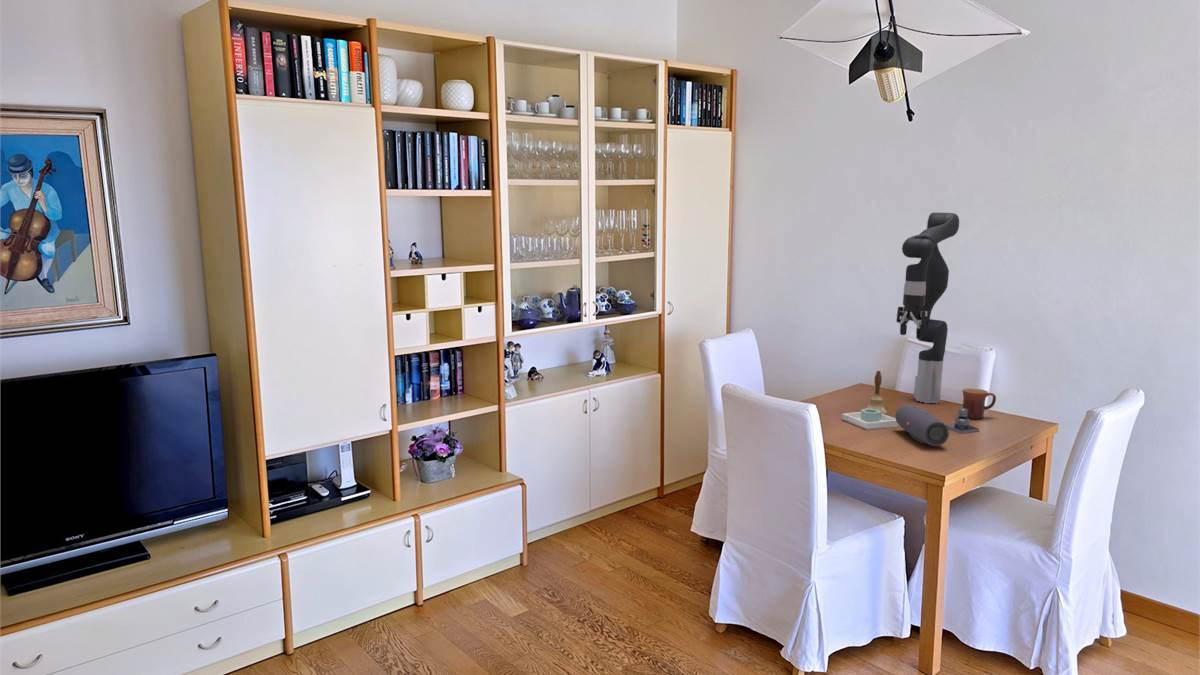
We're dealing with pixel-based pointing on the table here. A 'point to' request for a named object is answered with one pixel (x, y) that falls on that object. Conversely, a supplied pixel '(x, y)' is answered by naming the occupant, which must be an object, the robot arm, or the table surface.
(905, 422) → the bluetooth speaker
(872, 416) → the ring
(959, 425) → the stand
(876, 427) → the tray
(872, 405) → the hand bell
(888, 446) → the table surface
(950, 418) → the table surface
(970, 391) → the mug
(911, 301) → the robot arm
